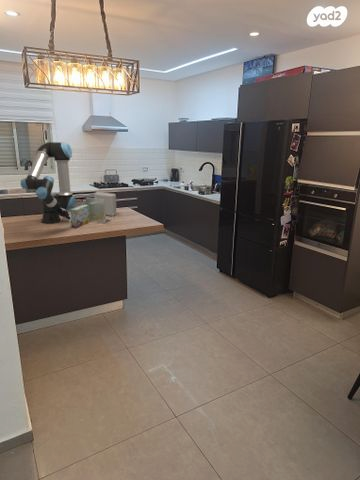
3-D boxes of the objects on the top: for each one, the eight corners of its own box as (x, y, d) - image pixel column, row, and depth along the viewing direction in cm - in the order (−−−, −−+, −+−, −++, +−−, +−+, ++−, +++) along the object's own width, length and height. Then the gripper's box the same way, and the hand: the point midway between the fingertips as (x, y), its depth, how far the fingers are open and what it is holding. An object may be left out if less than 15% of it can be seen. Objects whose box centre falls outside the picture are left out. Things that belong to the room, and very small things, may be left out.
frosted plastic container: (87, 220, 284) (85, 197, 278) (93, 218, 292) (92, 196, 286) (104, 223, 277) (103, 199, 271) (110, 220, 285) (109, 198, 279)
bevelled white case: (118, 215, 306) (117, 193, 300) (112, 216, 299) (112, 195, 293) (99, 212, 314) (98, 191, 308) (94, 214, 307) (93, 192, 301)
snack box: (77, 228, 260) (76, 209, 256) (71, 227, 261) (69, 209, 257) (89, 221, 280) (88, 204, 275) (83, 221, 281) (82, 204, 276)
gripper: (43, 206, 240) (61, 223, 259) (57, 208, 235) (74, 225, 254) (48, 198, 243) (66, 215, 262) (61, 200, 238) (79, 217, 257)
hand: (70, 220), depth 258 cm, fingers closed
